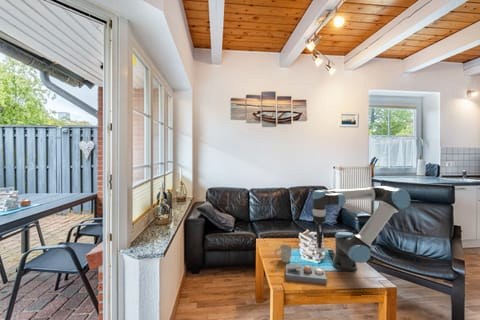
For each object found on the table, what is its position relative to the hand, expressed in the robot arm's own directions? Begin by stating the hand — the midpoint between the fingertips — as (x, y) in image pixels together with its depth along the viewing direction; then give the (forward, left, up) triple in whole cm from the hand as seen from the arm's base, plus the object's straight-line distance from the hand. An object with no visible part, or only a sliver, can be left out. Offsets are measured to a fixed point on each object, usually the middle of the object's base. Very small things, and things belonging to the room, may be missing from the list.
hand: (319, 252), depth 143 cm
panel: (+9, 0, -16) cm, 18 cm away
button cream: (0, 0, -15) cm, 15 cm away
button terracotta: (+7, 0, -13) cm, 15 cm away
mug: (+23, -19, -16) cm, 34 cm away
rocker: (+15, 0, -10) cm, 18 cm away
